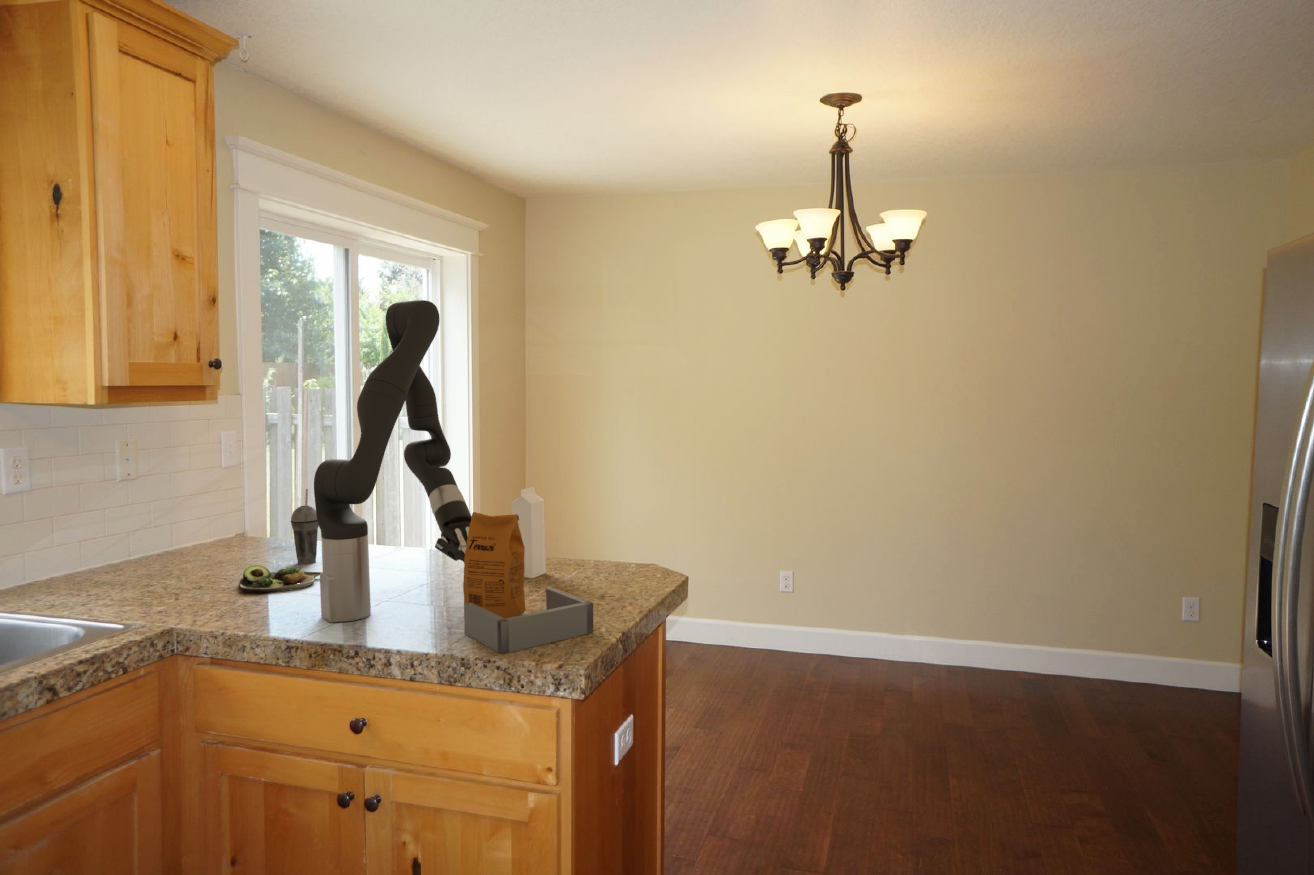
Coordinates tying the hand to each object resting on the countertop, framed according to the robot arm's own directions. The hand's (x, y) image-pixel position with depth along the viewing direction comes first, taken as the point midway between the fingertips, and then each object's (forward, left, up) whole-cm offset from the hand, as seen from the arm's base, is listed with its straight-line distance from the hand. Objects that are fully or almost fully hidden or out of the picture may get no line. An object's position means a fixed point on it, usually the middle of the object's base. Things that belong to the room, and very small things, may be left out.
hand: (475, 572), depth 186 cm
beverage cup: (-16, +70, -8) cm, 72 cm away
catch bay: (0, -23, -8) cm, 24 cm away
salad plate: (-29, +50, -8) cm, 58 cm away
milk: (+24, +19, -8) cm, 31 cm away
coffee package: (0, -9, -8) cm, 12 cm away
